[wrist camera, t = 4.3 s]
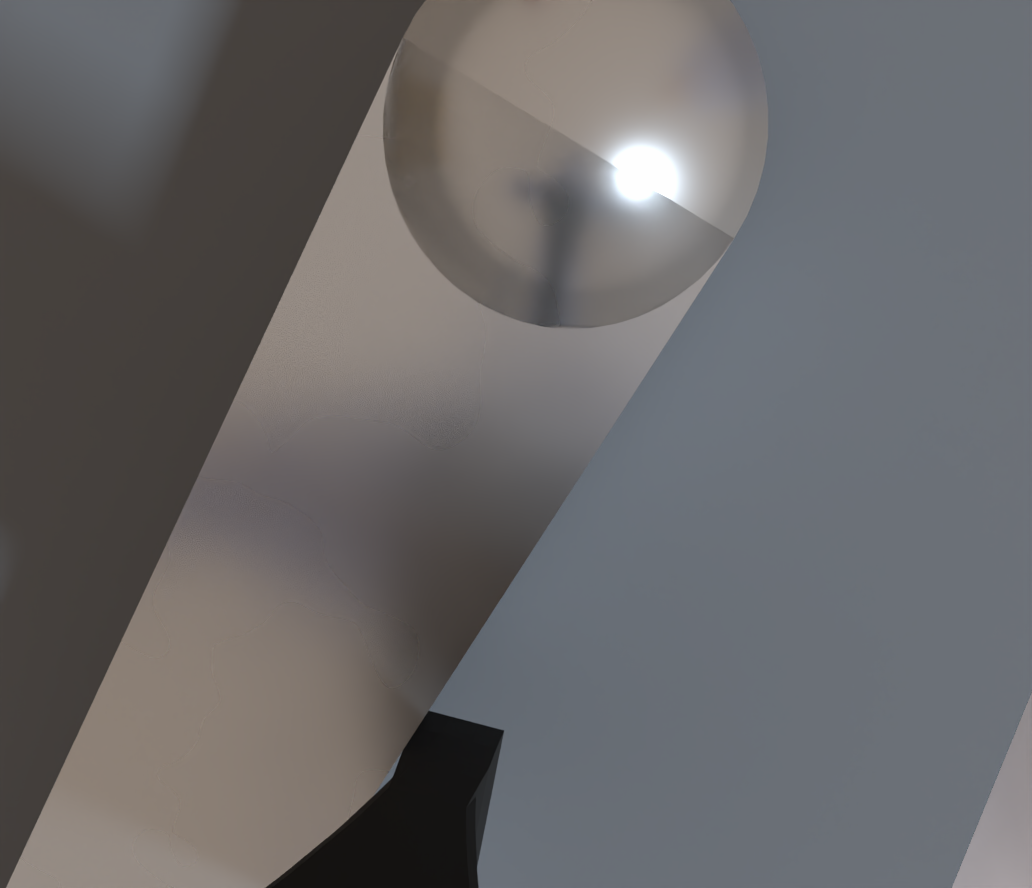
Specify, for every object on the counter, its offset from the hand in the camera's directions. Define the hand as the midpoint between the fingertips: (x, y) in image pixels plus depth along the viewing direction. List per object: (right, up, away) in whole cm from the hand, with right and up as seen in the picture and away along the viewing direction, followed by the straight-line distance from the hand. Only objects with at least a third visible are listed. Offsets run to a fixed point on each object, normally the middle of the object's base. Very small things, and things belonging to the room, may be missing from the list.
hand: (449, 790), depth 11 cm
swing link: (-3, 0, +2) cm, 3 cm away
